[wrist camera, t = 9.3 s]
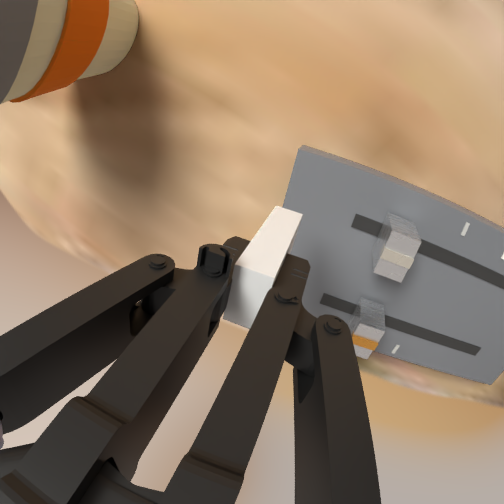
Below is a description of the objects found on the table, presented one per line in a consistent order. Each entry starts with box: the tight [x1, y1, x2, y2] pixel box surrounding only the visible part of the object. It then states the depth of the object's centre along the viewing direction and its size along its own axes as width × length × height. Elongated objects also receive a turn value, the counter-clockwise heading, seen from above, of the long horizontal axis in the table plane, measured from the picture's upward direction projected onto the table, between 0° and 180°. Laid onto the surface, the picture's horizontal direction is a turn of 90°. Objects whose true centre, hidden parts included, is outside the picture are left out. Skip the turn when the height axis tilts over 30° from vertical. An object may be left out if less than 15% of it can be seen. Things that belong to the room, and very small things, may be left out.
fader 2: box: [372, 212, 421, 283], centre depth 19 cm, size 2×3×3 cm, turn 166°
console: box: [282, 145, 504, 385], centre depth 23 cm, size 26×14×2 cm, turn 76°
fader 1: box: [347, 297, 385, 359], centre depth 23 cm, size 2×3×3 cm, turn 167°
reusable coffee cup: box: [0, 0, 139, 104], centre depth 15 cm, size 13×13×15 cm
